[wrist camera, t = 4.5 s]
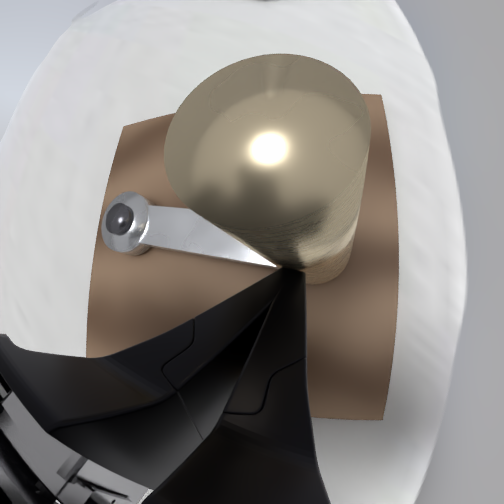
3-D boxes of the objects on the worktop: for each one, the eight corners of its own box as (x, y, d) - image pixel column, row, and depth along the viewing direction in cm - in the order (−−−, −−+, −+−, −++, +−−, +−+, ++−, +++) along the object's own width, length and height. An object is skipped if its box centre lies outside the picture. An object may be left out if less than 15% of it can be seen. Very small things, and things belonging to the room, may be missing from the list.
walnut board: (380, 415, 13) (382, 420, 13) (93, 360, 20) (86, 361, 19) (380, 101, 17) (381, 94, 16) (128, 130, 23) (123, 126, 22)
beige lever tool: (110, 251, 19) (-29, 206, 8) (124, 197, 20) (-2, 130, 9) (343, 296, 14) (360, 264, 3) (354, 221, 15) (368, 49, 4)
